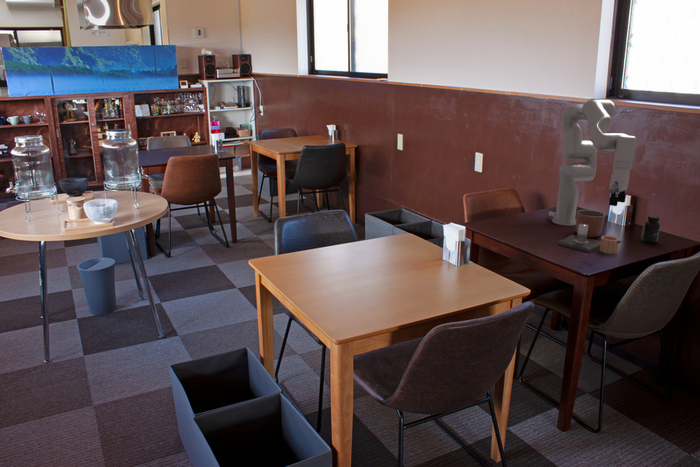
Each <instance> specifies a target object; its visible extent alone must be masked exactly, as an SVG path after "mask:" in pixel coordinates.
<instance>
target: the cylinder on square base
mask: <svg viewBox="0 0 700 467" xmlns="http://www.w3.org/2000/svg"><path fill="white" fill-rule="evenodd" d="M587 232H588V225H587V224H579V228H578V233H577V235H575V234H570V235H568V236H567V237H565V238H562V239H560V240H558V241H557V246H562V247H565V248H570V249H575V250H578V251H582V252H586V253H592V252H594V251H596V250H599V248H600V242H601V240H597V239H593V238H590V237H587Z"/></svg>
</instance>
